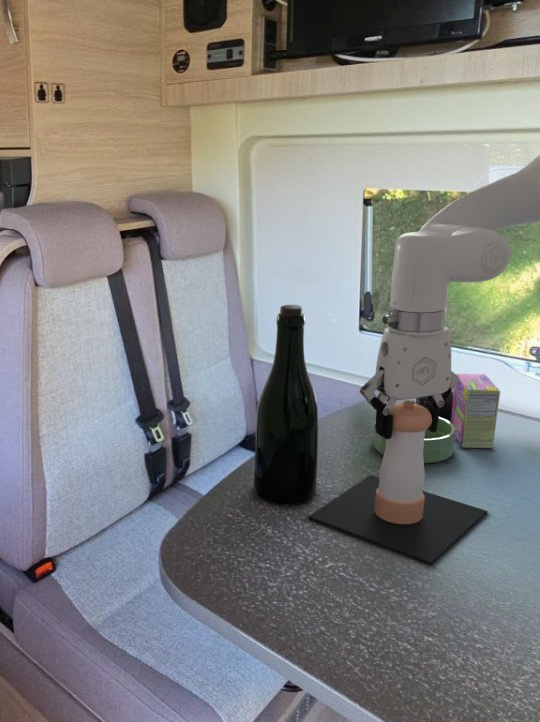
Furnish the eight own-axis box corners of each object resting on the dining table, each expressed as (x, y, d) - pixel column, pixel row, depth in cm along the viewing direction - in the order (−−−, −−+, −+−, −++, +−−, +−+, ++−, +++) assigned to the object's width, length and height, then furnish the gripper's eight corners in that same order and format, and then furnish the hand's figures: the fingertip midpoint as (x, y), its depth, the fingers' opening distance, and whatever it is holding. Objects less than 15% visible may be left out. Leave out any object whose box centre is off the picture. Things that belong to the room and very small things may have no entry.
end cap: (417, 425, 150) (420, 394, 147) (409, 412, 156) (412, 383, 154) (468, 425, 148) (472, 394, 146) (458, 412, 155) (461, 383, 153)
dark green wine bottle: (315, 481, 128) (325, 298, 117) (315, 509, 119) (326, 314, 107) (256, 477, 131) (259, 298, 119) (251, 504, 121) (255, 313, 110)
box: (448, 427, 148) (455, 373, 144) (478, 428, 146) (486, 373, 142) (460, 448, 138) (467, 390, 134) (492, 449, 137) (501, 390, 133)
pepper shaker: (419, 503, 118) (430, 393, 111) (426, 526, 111) (438, 410, 105) (372, 500, 119) (380, 392, 113) (376, 522, 113) (385, 408, 106)
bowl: (465, 447, 138) (468, 423, 137) (432, 471, 129) (435, 446, 128) (395, 429, 148) (397, 406, 146) (359, 451, 139) (361, 427, 138)
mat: (487, 513, 115) (487, 510, 115) (431, 565, 102) (431, 562, 102) (370, 477, 129) (371, 474, 128) (308, 518, 116) (308, 516, 116)
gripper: (377, 332, 99) (368, 450, 105) (486, 319, 103) (471, 433, 109) (348, 320, 106) (341, 431, 112) (452, 308, 109) (440, 416, 116)
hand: (406, 431), depth 110 cm, fingers closed on pepper shaker, 7 cm apart
